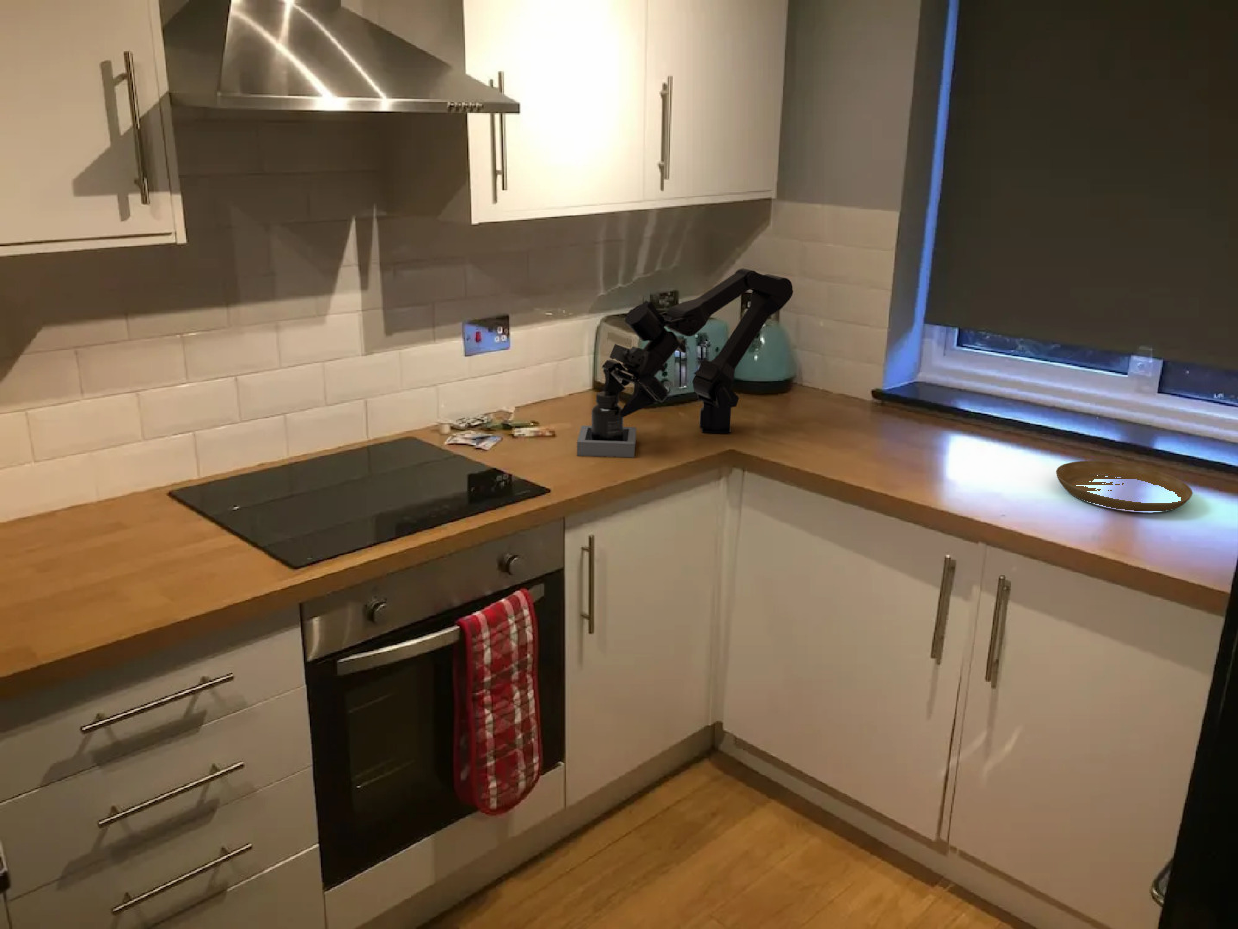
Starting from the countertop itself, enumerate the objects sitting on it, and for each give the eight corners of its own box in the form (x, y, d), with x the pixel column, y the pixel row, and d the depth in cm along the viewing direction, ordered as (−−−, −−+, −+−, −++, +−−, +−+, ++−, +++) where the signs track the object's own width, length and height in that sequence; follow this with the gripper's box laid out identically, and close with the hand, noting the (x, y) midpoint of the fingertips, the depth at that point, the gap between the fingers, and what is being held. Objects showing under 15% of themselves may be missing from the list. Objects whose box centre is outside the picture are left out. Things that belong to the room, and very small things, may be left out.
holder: (635, 440, 231) (636, 427, 230) (634, 457, 219) (634, 443, 218) (581, 438, 231) (581, 425, 230) (576, 455, 220) (577, 441, 219)
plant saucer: (1193, 490, 208) (1196, 474, 207) (1185, 529, 188) (1188, 511, 187) (1064, 468, 219) (1066, 453, 218) (1043, 502, 200) (1046, 486, 199)
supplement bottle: (624, 443, 228) (625, 390, 224) (621, 453, 222) (622, 398, 218) (593, 442, 229) (593, 389, 225) (589, 451, 222) (589, 397, 219)
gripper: (610, 322, 228) (565, 377, 226) (658, 339, 213) (610, 397, 211) (639, 355, 234) (596, 408, 232) (687, 373, 219) (641, 430, 217)
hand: (609, 410), depth 223 cm, fingers open, 9 cm apart
